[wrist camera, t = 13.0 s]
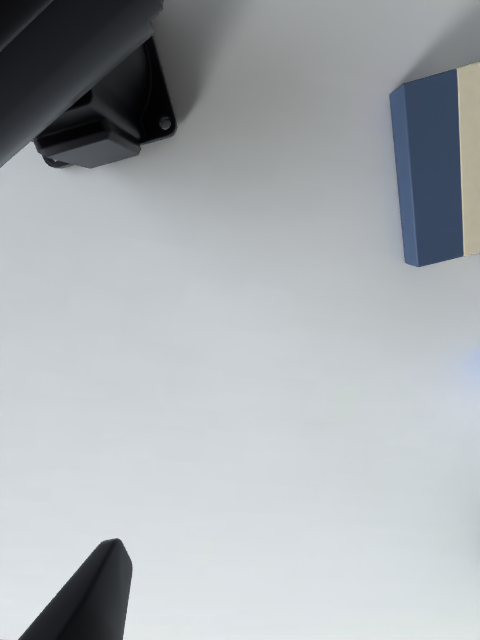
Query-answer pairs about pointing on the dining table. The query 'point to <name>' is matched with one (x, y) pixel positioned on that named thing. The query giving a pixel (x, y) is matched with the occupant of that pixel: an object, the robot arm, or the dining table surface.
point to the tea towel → (438, 164)
